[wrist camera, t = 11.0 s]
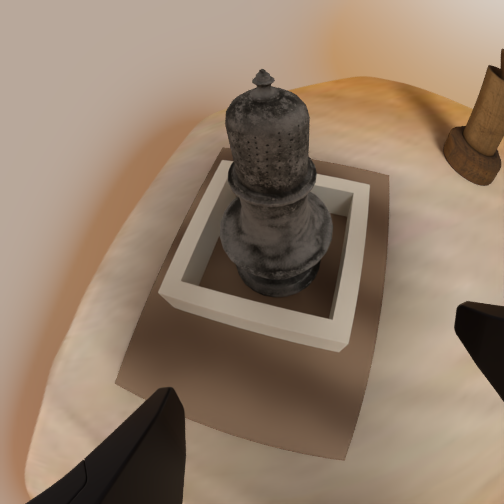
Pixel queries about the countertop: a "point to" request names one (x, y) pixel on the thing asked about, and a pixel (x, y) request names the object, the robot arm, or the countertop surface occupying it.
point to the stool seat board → (268, 323)
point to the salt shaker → (273, 193)
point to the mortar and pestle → (480, 132)
